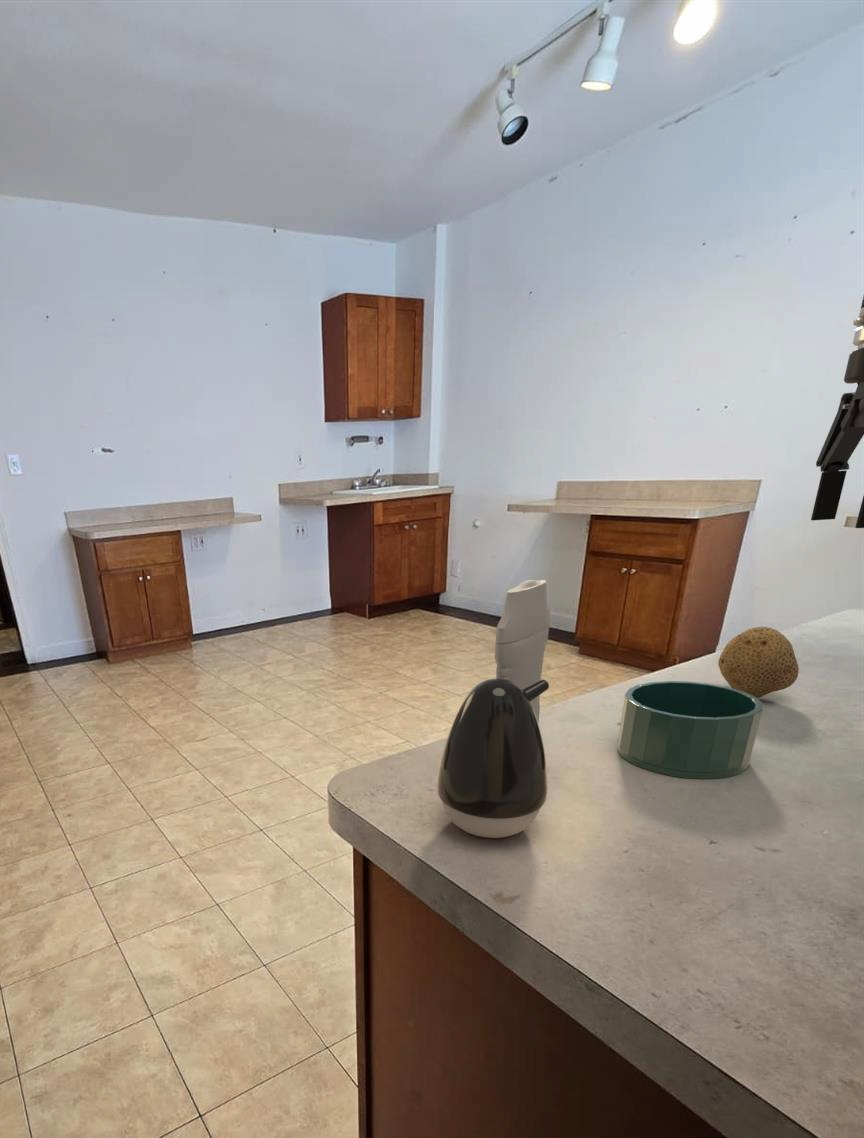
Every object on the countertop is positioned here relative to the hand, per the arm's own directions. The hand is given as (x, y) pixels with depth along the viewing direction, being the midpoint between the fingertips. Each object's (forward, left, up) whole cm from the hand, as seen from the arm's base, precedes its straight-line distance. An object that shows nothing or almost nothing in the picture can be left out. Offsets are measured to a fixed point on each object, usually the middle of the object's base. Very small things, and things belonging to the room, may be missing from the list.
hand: (844, 523), depth 88 cm
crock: (+23, +34, -22) cm, 47 cm away
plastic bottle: (+42, +43, -22) cm, 64 cm away
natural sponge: (+10, +11, -22) cm, 27 cm away
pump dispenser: (+44, +55, -22) cm, 74 cm away
